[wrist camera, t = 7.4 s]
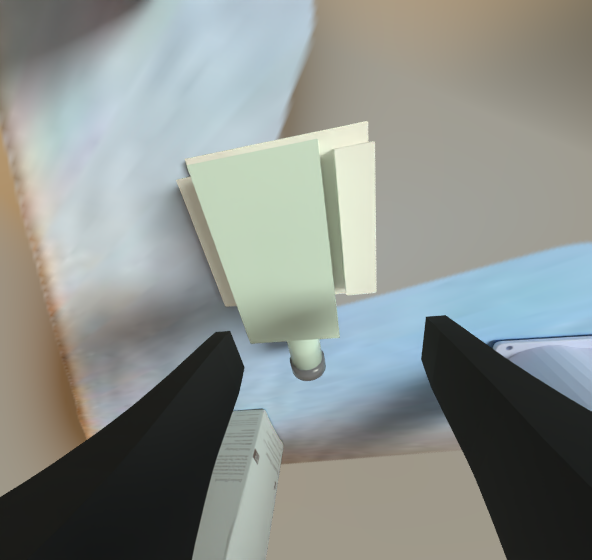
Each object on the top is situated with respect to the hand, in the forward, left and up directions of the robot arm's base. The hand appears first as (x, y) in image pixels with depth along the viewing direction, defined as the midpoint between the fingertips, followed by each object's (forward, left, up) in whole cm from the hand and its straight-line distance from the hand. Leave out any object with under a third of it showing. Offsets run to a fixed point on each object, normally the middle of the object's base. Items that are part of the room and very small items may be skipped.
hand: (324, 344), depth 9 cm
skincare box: (+12, +23, -10) cm, 28 cm away
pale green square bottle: (+2, +1, -9) cm, 9 cm away
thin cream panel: (+2, -2, -10) cm, 10 cm away
